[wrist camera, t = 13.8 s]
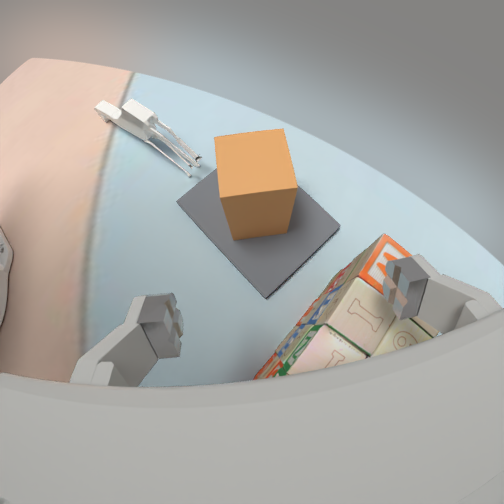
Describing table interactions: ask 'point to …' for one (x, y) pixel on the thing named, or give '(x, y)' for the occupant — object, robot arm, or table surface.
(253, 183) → the orange block
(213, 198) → the slate mat
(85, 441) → the robot arm
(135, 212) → the table surface
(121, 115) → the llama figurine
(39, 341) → the table surface
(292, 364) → the stack of blocks
